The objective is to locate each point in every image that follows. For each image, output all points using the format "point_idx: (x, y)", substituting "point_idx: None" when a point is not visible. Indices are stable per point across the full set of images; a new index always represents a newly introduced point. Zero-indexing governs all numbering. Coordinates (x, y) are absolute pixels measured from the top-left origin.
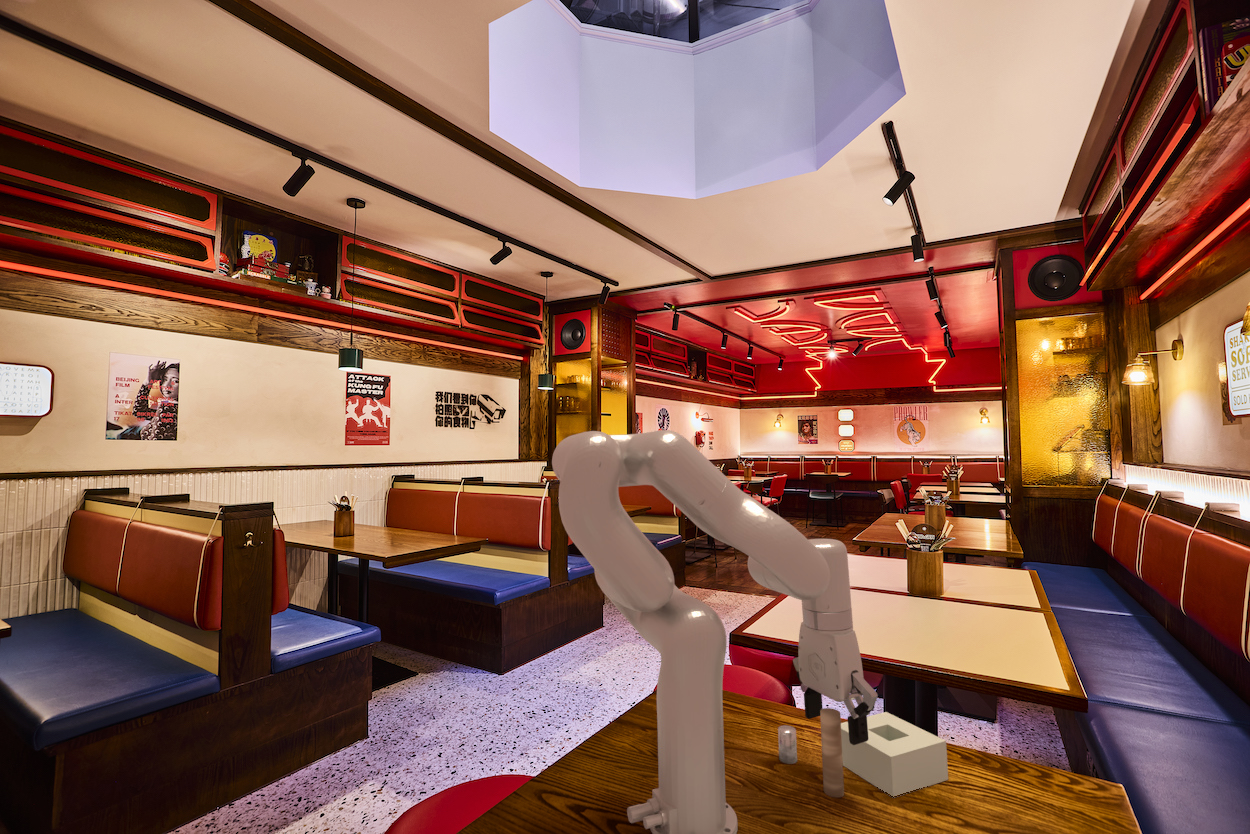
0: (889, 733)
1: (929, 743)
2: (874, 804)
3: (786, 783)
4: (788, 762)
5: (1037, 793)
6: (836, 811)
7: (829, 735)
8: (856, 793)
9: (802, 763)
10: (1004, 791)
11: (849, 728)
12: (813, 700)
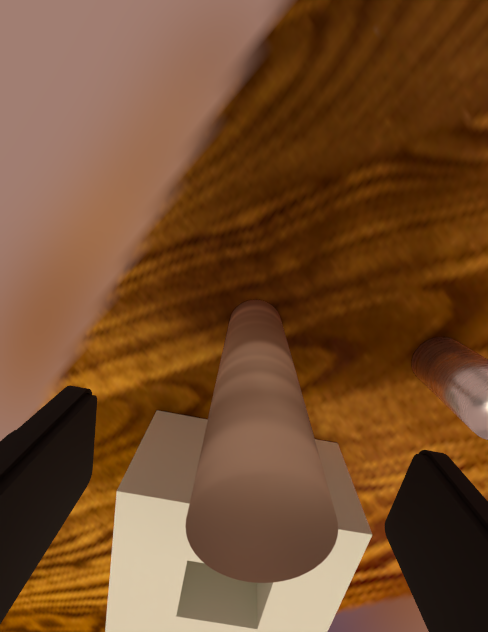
0: (251, 598)
1: (115, 614)
2: (163, 357)
3: (368, 254)
4: (425, 344)
5: (35, 596)
6: (195, 255)
7: (233, 390)
8: (217, 363)
9: (394, 372)
10: (64, 569)
11: (21, 441)
12: (466, 590)
